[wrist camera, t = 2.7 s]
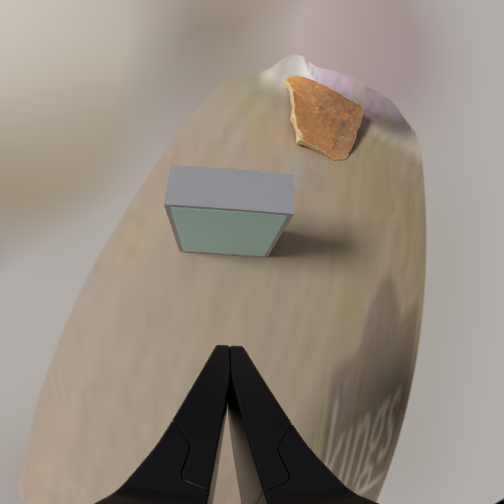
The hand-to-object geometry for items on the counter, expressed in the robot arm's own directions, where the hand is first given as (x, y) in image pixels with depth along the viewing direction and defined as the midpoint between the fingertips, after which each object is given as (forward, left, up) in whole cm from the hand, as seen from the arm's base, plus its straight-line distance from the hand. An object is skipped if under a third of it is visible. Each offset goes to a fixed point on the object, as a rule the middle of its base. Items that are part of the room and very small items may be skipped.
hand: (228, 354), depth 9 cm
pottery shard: (+15, -19, -14) cm, 28 cm away
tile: (+7, -4, -13) cm, 16 cm away
